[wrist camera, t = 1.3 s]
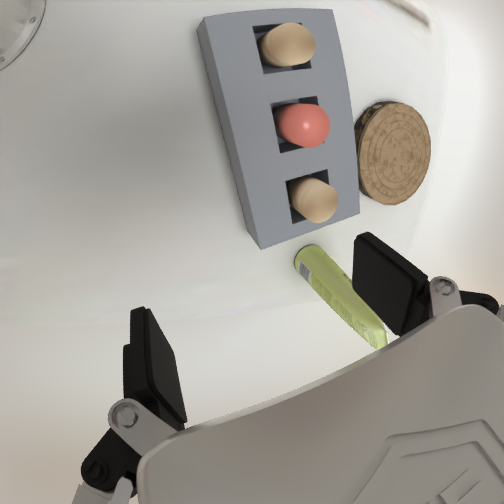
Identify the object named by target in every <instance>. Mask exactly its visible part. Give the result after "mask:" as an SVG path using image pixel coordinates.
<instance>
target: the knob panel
mask: <svg viewBox="0 0 504 504" xmlns="http://www.w3.org/2000/svg"><path fill="white" fill-rule="evenodd" d="M284 23H297V24H300V25H302V26H304V27H305V28H307V29H308V30H309V31H310V33H311V34H312V36H313V38H314V40H315V52H314V55H313V56H312V58H311V59H310V60H308V61H307V62H305V63H302V64H297V65H292V66H288V67H283V68H272V67H269V66H267V65H265V64H264V63H263V62H262V61H261V60H260V57H259V52H258V48H257V44H256V43H257V41H258V39H259V38H260V37H261V36H262V35H263V34H265V33H267V32H269V31H270V30H272V29H274V28H276V27H278V26H280V25H282V24H284ZM197 33H198V37H199V41H200V45H201V49H202V53H203V57H204V61H205V65H206V69H207V73H208V77H209V81H210V84H211V88H212V92H213V96H214V100H215V104H216V108H217V112H218V116H219V120H220V124H221V128H222V132H223V136H224V140H225V143H226V147H227V151H228V155H229V159H230V163H231V167H232V171H233V175H234V179H235V183H236V187H237V191H238V195H239V199H240V203H241V207H242V210H243V214H244V218H245V222H246V226H247V230H248V233H249V234H250V235H251V237H252V238H253V240H254V241H255V242H256V244H257V245H258V247H259V248H260V249H261V250H262V249H265V248H268V247H270V246H273V245H276V244H278V243H281V242H284V241H287V240H289V239H292V238H295V237H297V236H300V235H303V234H306V233H308V232H311V231H314V230H317V229H319V228H322V227H325V226H327V225H330V224H333V223H336V222H338V221H341V220H344V219H346V218H349V217H352V216H355V215H357V214H360V205H359V183H358V167H357V154H356V143H355V133H354V124H353V116H352V109H351V101H350V94H349V88H348V82H347V76H346V70H345V65H344V59H343V54H342V49H341V45H340V40H339V35H338V31H337V27H336V23H335V19H334V15H333V11H332V9H305V8H293V9H267V10H254V11H243V12H235V13H227V14H221V15H214V16H209V17H204V18H203V20H202V22H201V23H200V25H199V27H198V29H197ZM287 103H299V104H313V105H317V106H319V107H321V108H322V109H323V110H324V111H325V112H326V114H327V115H328V118H329V121H330V131H329V134H328V136H327V138H326V140H325V141H324V142H323V143H322V144H321V145H319V146H317V147H314V148H306V147H303V146H300V145H297V144H294V143H291V142H288V141H285V140H283V139H281V138H279V137H278V136H277V134H276V130H275V125H274V120H273V115H274V113H275V111H276V110H277V109H278V108H279V107H280V106H282V105H284V104H287ZM308 174H309V175H311V176H313V177H315V178H317V179H318V180H320V181H322V182H324V183H326V184H328V185H330V186H331V187H333V188H334V189H335V191H336V192H337V195H338V206H337V209H336V211H335V213H334V214H333V215H332V216H331V217H330V218H329V219H328V220H326V221H324V222H322V223H313V222H311V221H309V220H308V219H307V218H305V217H304V216H303V215H302V214H301V213H299V212H298V211H297V210H296V209H294V208H293V207H292V206H291V205H290V204H289V201H288V195H287V189H286V188H287V186H288V184H289V182H290V181H291V180H292V179H294V178H297V177H301V176H304V175H308Z"/></svg>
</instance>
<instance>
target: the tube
mask: <svg viewBox="0 0 504 504" xmlns="http://www.w3.org/2000/svg"><path fill="white" fill-rule="evenodd" d="M295 268H296V270H297V271H298V272H299V273H300V275H301V276H302V277H303V278H304V279H305V280H306V281H307V282H308V283H309V285H310V286H311V287H312V288H313V289H314V290H315V291H316V292H317V293H318V294H319V295H320V296H321V298H322V299H323V300H324V301H325V302H326V303H327V304H328V305H329V306H330V307H331V308H332V309H333V310H334V311H335V312H336V313H337V314H338V315H339V316H340V317H341V318H342V319H343V320H344V321H345V322H346V323H348V324H349V325H350V326H351V327H352V328H353V329H354V330H355V331H356V332H357V333H358V334H359V335H360V336H361V337H363V338H364V339H365V340H366V341H367V342H368V343H369V344H370V345H371V346H373V347H374V348H375V349H376V350H379V349H380V348H382V347H384V346H386V345H388V344H389V339H388V333H387V331H386V330H385V328H384V325H383V323H382V320H381V319H380V318H379V317H378V316H377V315H376V314H375V313H374V311H373V310H372V309H371V308H370V307H369V306H368V305H367V304H366V303H365V302H364V301H363V300H362V299H361V298H360V297H359V296H358V295H357V293H356V292H355V291H354V290H353V288H352V280H351V279H350V278H349V277H348V276H347V275H346V274H345V272H344V271H343V270H342V269H341V268H340V267H339V266H338V265H337V264H336V263H335V262H334V261H333V260H332V259H331V258H330V257H329V256H328V255H327V254H326V253H325V252H324V251H323V250H322V249H321V248H320V247H319V246H316V245H310V246H307V247H305V248H303V249H302V250H301V251H300V252H299V253H298V254H297V256H296V259H295Z"/></svg>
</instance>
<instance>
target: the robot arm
mask: <svg viewBox="0 0 504 504" xmlns="http://www.w3.org/2000/svg"><path fill="white" fill-rule="evenodd" d="M44 8H45V0H0V70H1V69H2V68H4V67H5V66H7V65H8V64H9V63H11V62H12V61H13V60H14V59H15V58H16V57H17V56H18V55H19V54H20V53H21V52H22V51H23V50H24V48H25V47H26V46H27V45H28V43H29V42H30V40H31V39H32V37H33V36H34V34H35V33H36V31H37V29H38V27H39V25H40V22H41V19H42V17H43V13H44ZM34 21H35V22H34ZM427 279H428V276H427V275H426V274H424V273H423V272H422V271H421V270H419V269H418V268H417V267H416V266H414V265H413V264H412V263H411V262H409V261H408V260H407V259H405V258H404V257H403V256H401V255H400V254H399V253H397V252H396V251H395V250H394V249H392V248H391V247H389V246H388V245H387V244H385V243H384V242H383V241H381V240H380V239H379V238H377V237H376V236H374V235H373V234H372V233H370V232H365V233H362V234H359V235H357V237H356V239H355V240H354V255H353V274H352V288H353V290H354V291H355V292H356V293H357V295H358V296H359V297H360V298H361V299H362V300H363V301H364V302H365V303H366V304H367V305H368V306H369V307H370V308H371V309H372V310H373V311H374V313H375V314H376V315H377V316H378V317H379V318H380V319H381V320H382V321H383V322H384V323H385V324H386V325H387V327H389V329H390V330H391V331H392V332H393V333H394V334H395V335H399V336H400V338H398V339H396V340H395V341H393V342H391V343H389V344H388V345H386V346H384V347H382V348H380V349H379V350H377V351H375V352H373V353H371V354H369V355H367V356H366V357H364V358H362V359H360V360H358V361H356V362H354V363H352V364H350V365H348V366H346V367H344V368H342V369H340V370H338V371H336V372H334V373H332V374H330V375H328V376H326V377H323V378H321V379H319V380H316V381H314V382H312V383H310V384H307V385H305V386H303V387H300V388H298V389H296V390H293V391H291V392H288V393H286V394H283V395H282V396H278V397H276V398H273V399H271V400H268V401H265V402H263V403H260V404H257V405H254V406H252V407H249V408H246V409H243V410H240V411H237V412H234V413H231V414H228V415H225V416H222V417H219V418H216V419H213V420H209V421H207V422H204V423H201V424H198V425H195V426H192V427H189V428H187V429H185V427H184V423H186V422H187V416H186V412H185V407H184V402H183V398H182V393H181V388H180V383H179V377H178V372H177V366H176V361H175V356H174V352H173V350H172V348H171V346H170V344H169V343H168V341H167V339H166V338H165V336H164V334H163V332H162V330H161V329H160V327H159V325H158V323H157V321H156V319H155V317H154V315H153V313H152V312H151V310H150V309H149V308H148V309H145V307H144V306H143V307H139V308H136V309H133V310H131V312H130V344H127V345H124V347H123V391H124V399H122V400H119V401H117V402H116V403H115V404H114V405H113V406H112V407H111V409H110V411H109V413H108V422H109V425H110V427H111V428H110V429H109V430H108V431H107V432H106V434H105V435H104V436H103V437H102V438H101V440H100V441H99V442H98V444H97V445H96V446H95V447H94V449H93V450H92V451H91V452H90V453H89V455H88V456H87V457H86V458H85V460H84V461H83V463H82V466H81V475H82V478H83V480H84V481H83V483H82V485H79V486H78V488H77V491H76V494H75V497H74V499H73V502H72V504H128V502H129V499H130V498H132V497H134V496H135V495H136V494H138V502H139V504H504V305H501V306H500V307H499V305H498V302H497V301H496V299H494V298H493V297H492V296H490V295H488V294H483V293H475V292H467V291H460V290H459V289H458V286H457V284H456V283H455V282H454V281H453V280H451V279H449V278H447V277H442V276H438V277H435V278H433V279H432V280H431V281H430V282H429V281H428V280H427Z"/></svg>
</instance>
